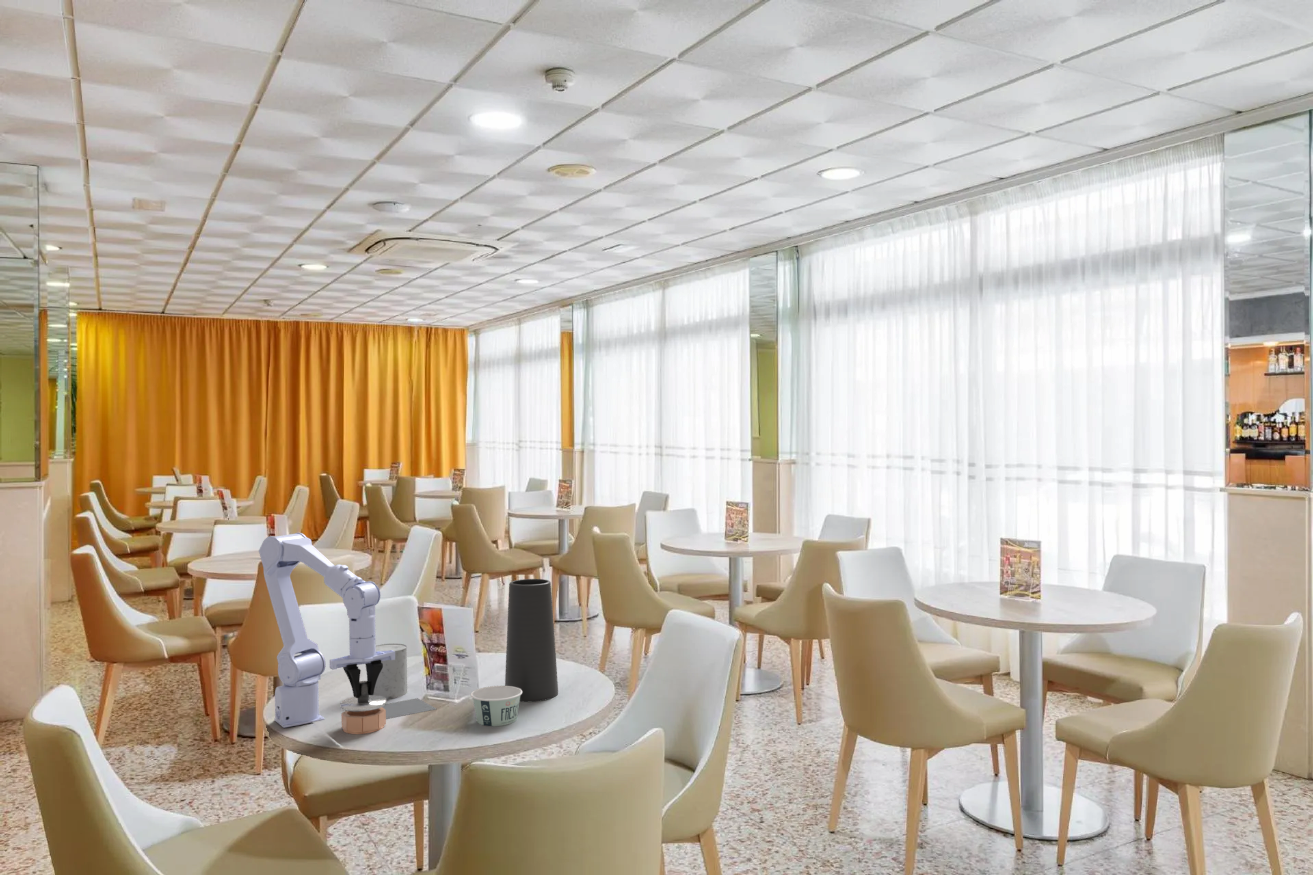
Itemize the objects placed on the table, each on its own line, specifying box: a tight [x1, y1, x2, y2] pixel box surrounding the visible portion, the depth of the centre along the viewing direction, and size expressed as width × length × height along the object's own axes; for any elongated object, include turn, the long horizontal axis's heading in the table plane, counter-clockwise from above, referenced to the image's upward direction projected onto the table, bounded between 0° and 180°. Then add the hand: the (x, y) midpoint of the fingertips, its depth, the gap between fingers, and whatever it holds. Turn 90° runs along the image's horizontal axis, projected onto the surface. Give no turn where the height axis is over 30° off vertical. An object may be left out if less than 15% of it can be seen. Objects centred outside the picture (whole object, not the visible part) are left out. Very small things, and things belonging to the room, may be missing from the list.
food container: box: [470, 685, 522, 727], centre depth 220 cm, size 12×12×6 cm
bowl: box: [340, 707, 387, 735], centre depth 214 cm, size 9×9×4 cm
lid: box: [340, 680, 387, 712], centre depth 214 cm, size 10×10×5 cm
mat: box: [382, 697, 437, 720], centre depth 228 cm, size 14×12×1 cm
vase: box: [504, 578, 559, 703], centre depth 241 cm, size 14×14×29 cm
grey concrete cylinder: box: [374, 643, 408, 700], centre depth 242 cm, size 10×10×12 cm
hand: (363, 695), depth 214 cm, fingers closed on lid, 3 cm apart
